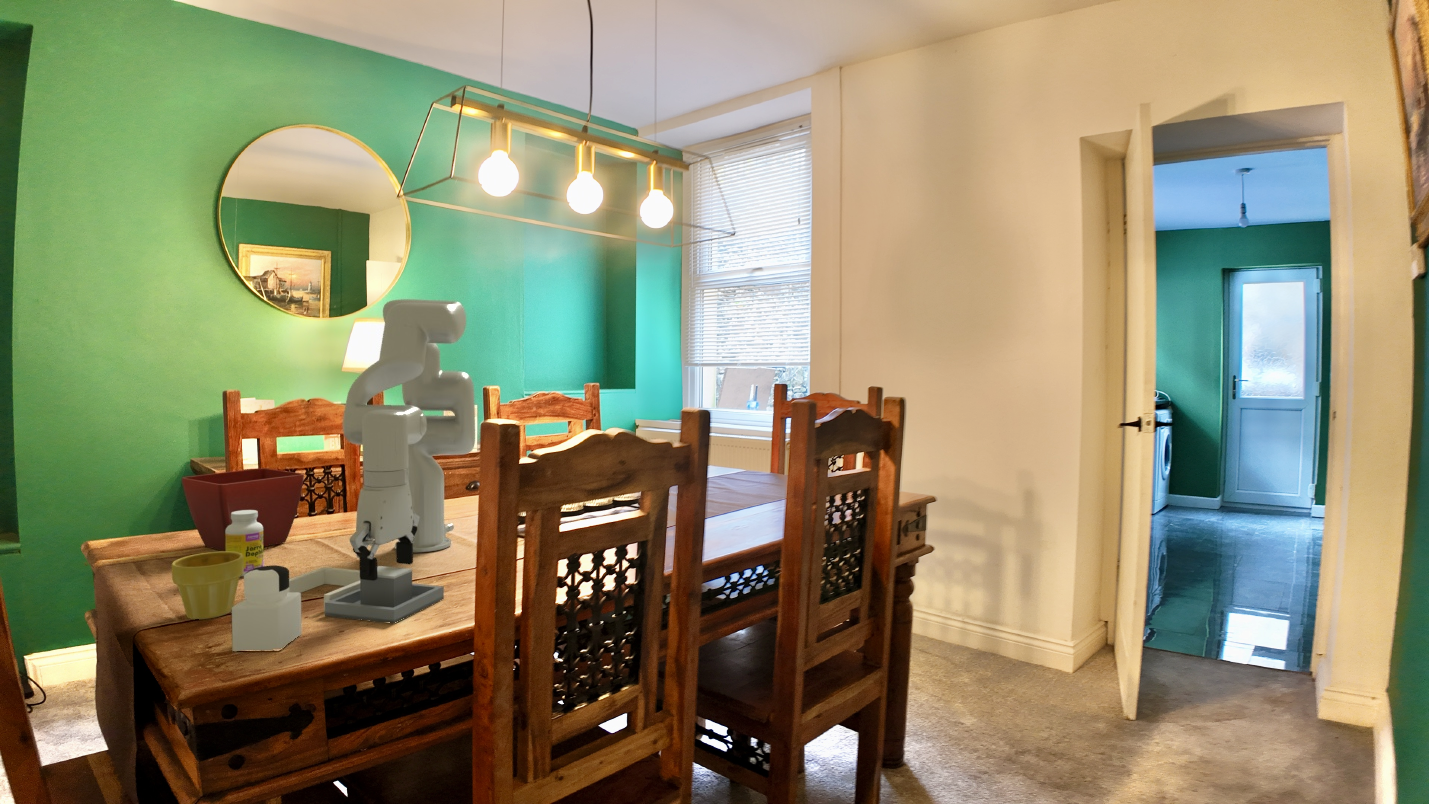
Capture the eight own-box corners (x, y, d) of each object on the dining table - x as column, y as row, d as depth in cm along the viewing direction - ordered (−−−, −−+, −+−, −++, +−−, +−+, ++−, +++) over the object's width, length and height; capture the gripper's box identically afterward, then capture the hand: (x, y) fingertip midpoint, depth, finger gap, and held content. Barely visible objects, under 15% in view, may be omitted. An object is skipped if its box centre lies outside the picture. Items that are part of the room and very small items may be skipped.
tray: (379, 592, 142) (379, 580, 142) (443, 599, 139) (443, 586, 139) (325, 616, 129) (324, 602, 129) (394, 624, 126) (394, 610, 125)
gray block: (379, 597, 137) (379, 565, 137) (412, 601, 136) (412, 569, 135) (360, 606, 133) (360, 573, 132) (394, 609, 131) (393, 576, 130)
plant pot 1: (180, 547, 174) (179, 476, 173) (265, 532, 190) (264, 467, 189) (221, 559, 164) (220, 484, 163) (307, 542, 180) (306, 474, 179)
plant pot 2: (180, 628, 122) (179, 570, 121) (166, 613, 129) (165, 558, 128) (252, 613, 130) (251, 558, 129) (235, 600, 137) (234, 547, 136)
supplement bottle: (245, 578, 150) (244, 516, 149) (217, 576, 151) (216, 514, 151) (271, 569, 156) (270, 509, 156) (244, 567, 158) (243, 508, 157)
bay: (324, 581, 149) (323, 566, 149) (385, 587, 145) (385, 572, 145) (263, 604, 135) (262, 587, 134) (329, 611, 131) (329, 595, 131)
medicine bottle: (256, 635, 119) (255, 562, 119) (302, 635, 120) (301, 562, 119) (231, 653, 112) (229, 575, 112) (280, 652, 113) (279, 574, 112)
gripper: (399, 469, 142) (400, 556, 144) (332, 485, 126) (334, 584, 127) (433, 471, 141) (434, 559, 142) (370, 489, 124) (372, 588, 125)
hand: (387, 571), depth 135 cm, fingers open, 9 cm apart
